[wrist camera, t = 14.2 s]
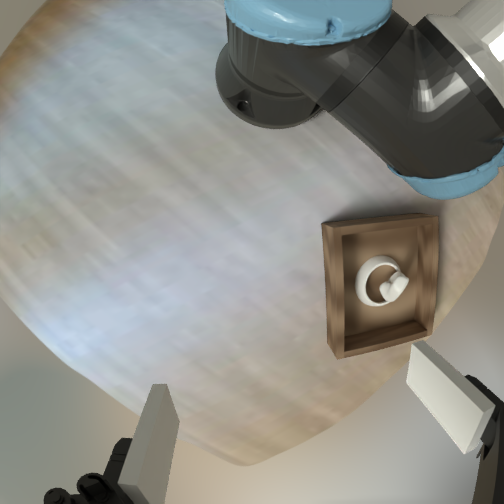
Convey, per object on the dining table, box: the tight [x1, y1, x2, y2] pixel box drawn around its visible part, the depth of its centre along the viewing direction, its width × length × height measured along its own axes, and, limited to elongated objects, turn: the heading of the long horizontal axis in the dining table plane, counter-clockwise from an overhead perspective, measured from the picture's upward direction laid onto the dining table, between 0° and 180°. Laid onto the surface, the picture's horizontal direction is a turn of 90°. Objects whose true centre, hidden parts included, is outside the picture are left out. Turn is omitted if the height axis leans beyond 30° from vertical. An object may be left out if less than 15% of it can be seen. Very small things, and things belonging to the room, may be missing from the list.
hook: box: [355, 255, 409, 306], centre depth 37 cm, size 8×12×7 cm
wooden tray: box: [321, 213, 439, 359], centre depth 39 cm, size 18×16×5 cm
